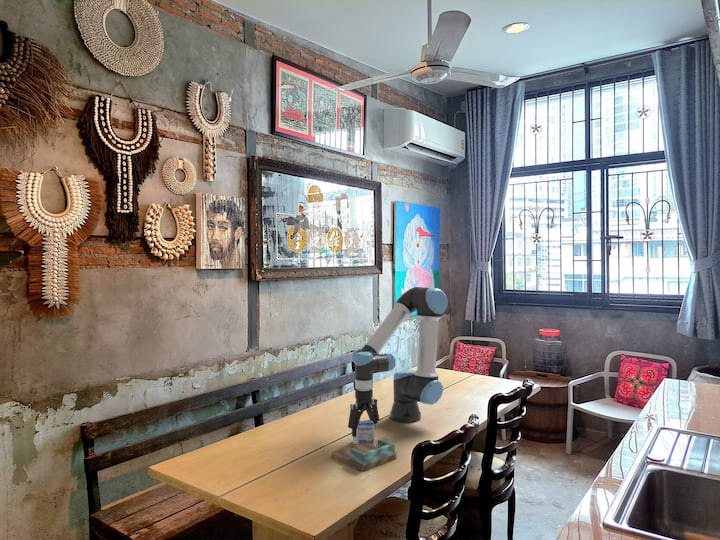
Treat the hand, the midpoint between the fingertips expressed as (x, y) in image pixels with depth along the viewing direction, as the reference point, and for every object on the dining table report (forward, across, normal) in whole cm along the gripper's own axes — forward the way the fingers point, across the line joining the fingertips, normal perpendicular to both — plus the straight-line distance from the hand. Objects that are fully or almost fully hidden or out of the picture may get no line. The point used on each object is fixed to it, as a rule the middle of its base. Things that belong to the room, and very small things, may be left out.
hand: (364, 441), depth 215 cm
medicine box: (+1, 0, 0) cm, 1 cm away
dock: (0, +12, +13) cm, 18 cm away
